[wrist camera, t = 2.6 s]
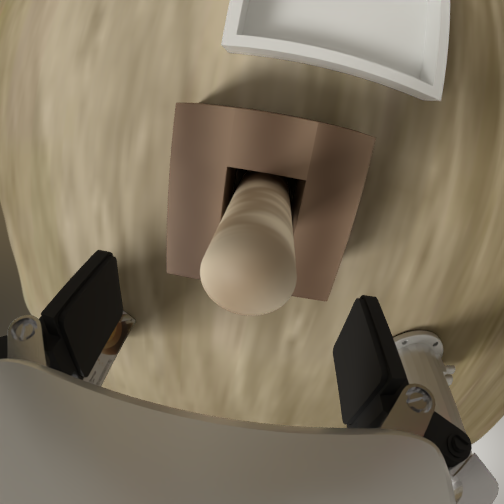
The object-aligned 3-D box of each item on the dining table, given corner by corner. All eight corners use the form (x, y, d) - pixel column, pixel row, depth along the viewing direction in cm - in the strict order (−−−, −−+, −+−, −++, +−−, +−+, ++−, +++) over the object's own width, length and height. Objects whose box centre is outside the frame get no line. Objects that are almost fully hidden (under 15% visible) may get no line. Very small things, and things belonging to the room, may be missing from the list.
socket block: (355, 130, 23) (376, 137, 18) (319, 265, 30) (326, 301, 24) (198, 103, 23) (176, 102, 18) (185, 242, 30) (166, 273, 24)
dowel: (292, 169, 25) (307, 243, 12) (283, 214, 27) (285, 322, 14) (244, 160, 25) (203, 225, 12) (237, 205, 27) (197, 306, 14)
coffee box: (72, 300, 36) (12, 379, 22) (86, 276, 34) (15, 363, 19) (119, 340, 39) (72, 427, 24) (138, 320, 36) (86, 419, 22)
